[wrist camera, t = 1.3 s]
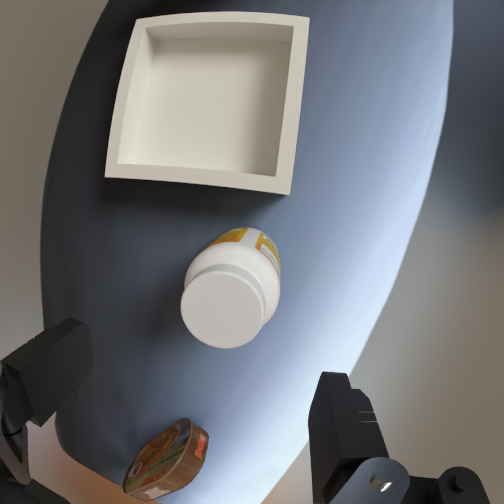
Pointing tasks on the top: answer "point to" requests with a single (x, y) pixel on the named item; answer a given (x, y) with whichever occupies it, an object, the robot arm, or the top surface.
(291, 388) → the top surface
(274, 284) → the supplement bottle
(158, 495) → the tin
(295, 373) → the top surface
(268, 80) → the tray
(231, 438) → the top surface
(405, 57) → the top surface
